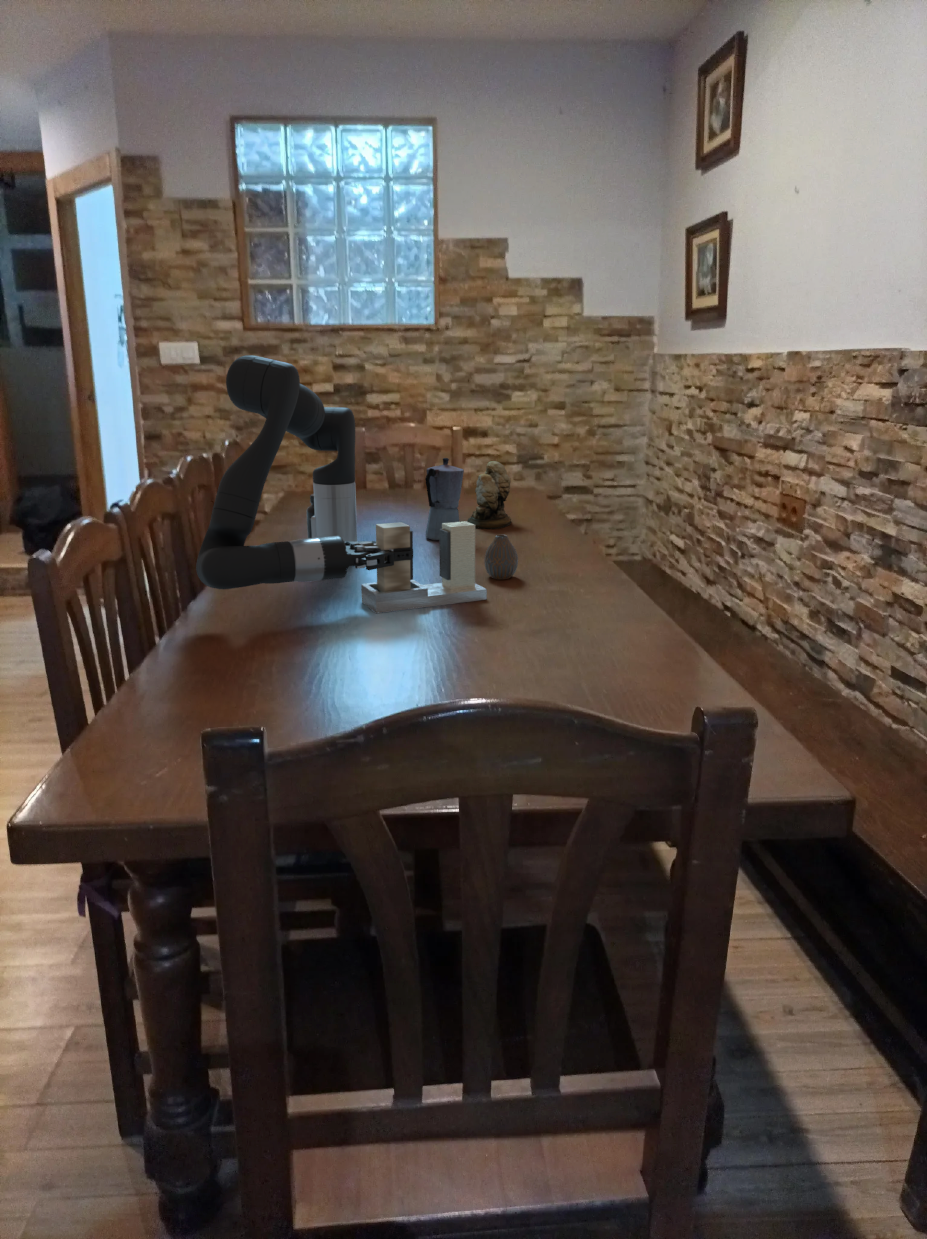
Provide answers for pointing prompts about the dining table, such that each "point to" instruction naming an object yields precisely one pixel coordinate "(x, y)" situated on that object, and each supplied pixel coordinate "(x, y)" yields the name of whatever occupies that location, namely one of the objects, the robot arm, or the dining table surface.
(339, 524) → the robot arm
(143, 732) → the dining table surface
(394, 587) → the tall beige block
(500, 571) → the vase
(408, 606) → the grey stand with upright
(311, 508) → the supplement bottle
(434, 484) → the moka pot
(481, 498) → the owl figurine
